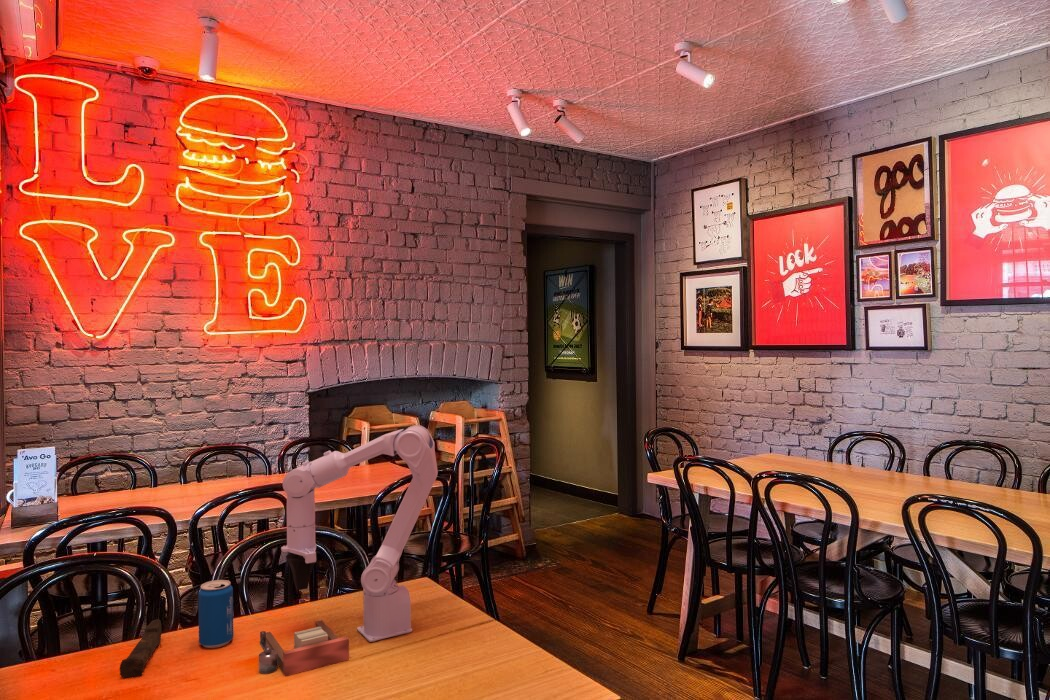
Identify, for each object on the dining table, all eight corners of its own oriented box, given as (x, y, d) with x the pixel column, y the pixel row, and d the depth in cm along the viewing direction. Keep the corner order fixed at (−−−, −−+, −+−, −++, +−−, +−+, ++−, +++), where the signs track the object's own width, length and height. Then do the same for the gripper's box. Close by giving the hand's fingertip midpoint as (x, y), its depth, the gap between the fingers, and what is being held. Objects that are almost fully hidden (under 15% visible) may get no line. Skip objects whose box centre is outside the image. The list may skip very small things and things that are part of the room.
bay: (321, 629, 149) (321, 610, 149) (349, 659, 134) (348, 638, 134) (263, 642, 143) (263, 623, 142) (285, 676, 128) (284, 654, 128)
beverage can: (220, 650, 139) (219, 590, 139) (191, 648, 140) (191, 588, 140) (240, 637, 145) (239, 580, 145) (212, 635, 147) (211, 578, 147)
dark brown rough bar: (142, 678, 128) (142, 653, 128) (119, 680, 127) (119, 655, 127) (173, 637, 147) (173, 615, 147) (152, 638, 146) (152, 616, 146)
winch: (271, 658, 135) (270, 629, 135) (279, 670, 130) (278, 640, 130) (253, 662, 133) (253, 633, 133) (261, 675, 128) (260, 644, 128)
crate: (319, 651, 138) (319, 625, 138) (328, 661, 134) (328, 634, 134) (294, 658, 136) (294, 631, 136) (302, 668, 131) (301, 640, 131)
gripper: (273, 520, 151) (273, 582, 151) (290, 534, 139) (291, 602, 139) (306, 515, 155) (306, 576, 155) (326, 529, 143) (326, 595, 143)
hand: (301, 588), depth 147 cm, fingers closed
